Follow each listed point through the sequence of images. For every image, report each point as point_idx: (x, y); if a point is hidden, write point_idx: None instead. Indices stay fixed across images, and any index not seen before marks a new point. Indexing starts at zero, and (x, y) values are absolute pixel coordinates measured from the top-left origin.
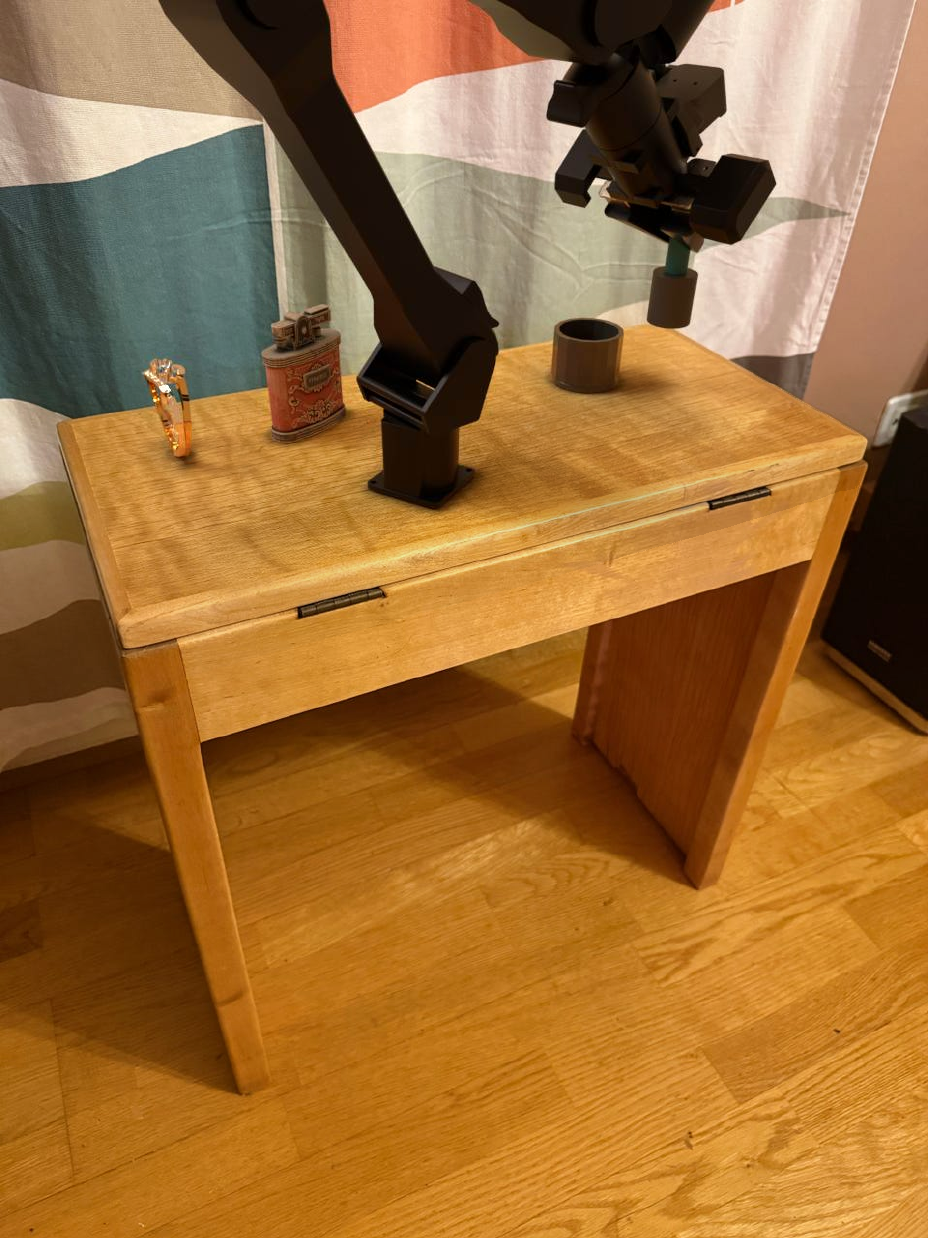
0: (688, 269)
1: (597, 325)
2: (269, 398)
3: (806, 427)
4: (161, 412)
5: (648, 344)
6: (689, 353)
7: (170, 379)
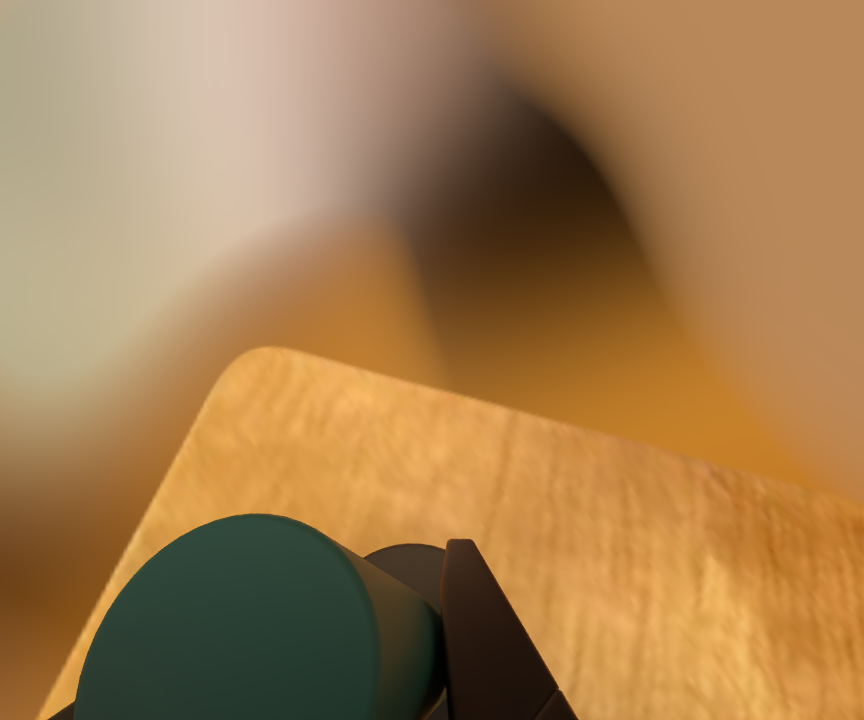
0: (426, 568)
1: None
2: None
3: (840, 567)
4: None
5: (286, 435)
6: (381, 409)
7: None
